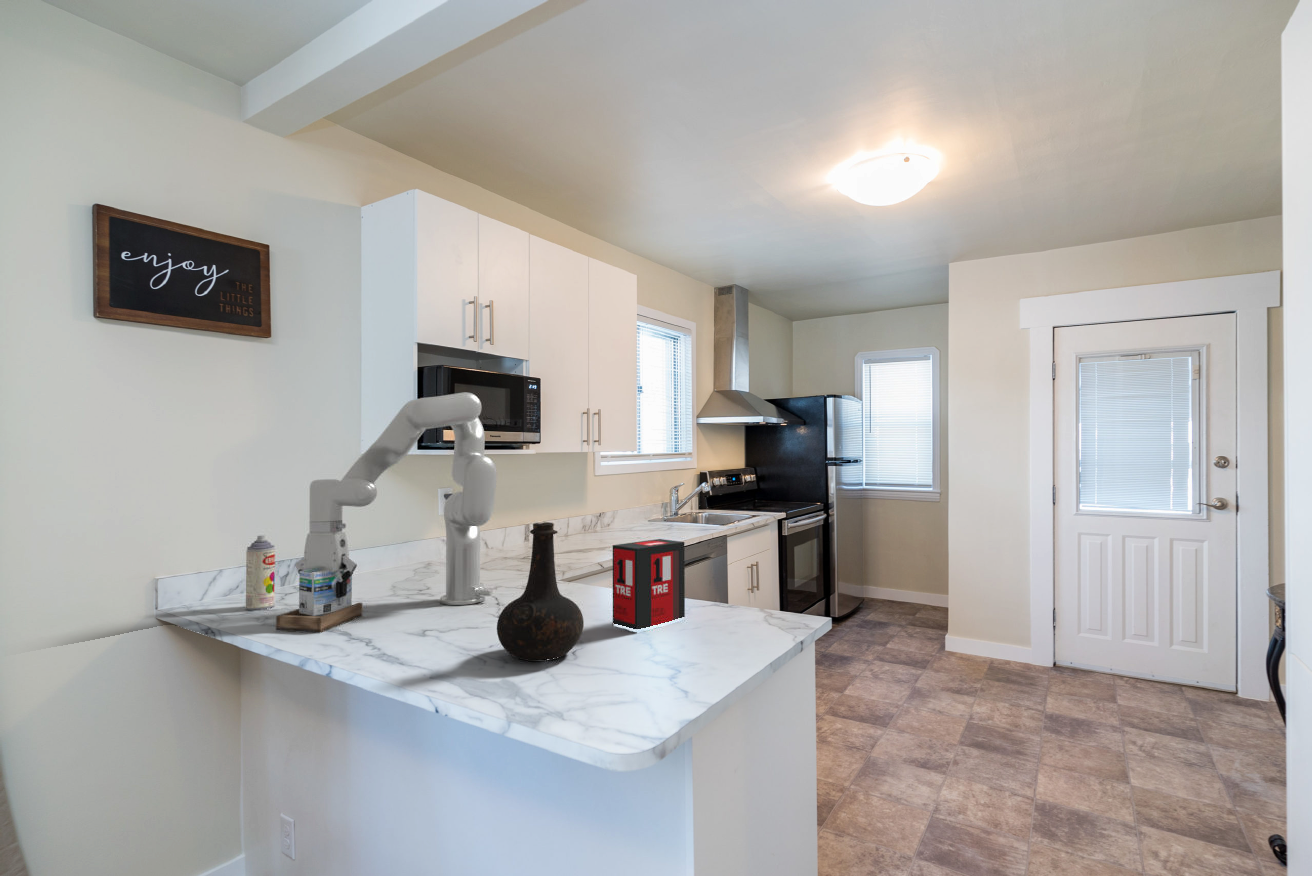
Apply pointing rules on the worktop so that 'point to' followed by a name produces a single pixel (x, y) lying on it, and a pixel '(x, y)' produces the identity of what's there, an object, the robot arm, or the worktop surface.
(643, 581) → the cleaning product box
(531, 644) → the glass bottle
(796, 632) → the worktop surface
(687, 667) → the worktop surface
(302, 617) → the tray
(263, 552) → the aerosol can
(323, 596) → the light bulb box
